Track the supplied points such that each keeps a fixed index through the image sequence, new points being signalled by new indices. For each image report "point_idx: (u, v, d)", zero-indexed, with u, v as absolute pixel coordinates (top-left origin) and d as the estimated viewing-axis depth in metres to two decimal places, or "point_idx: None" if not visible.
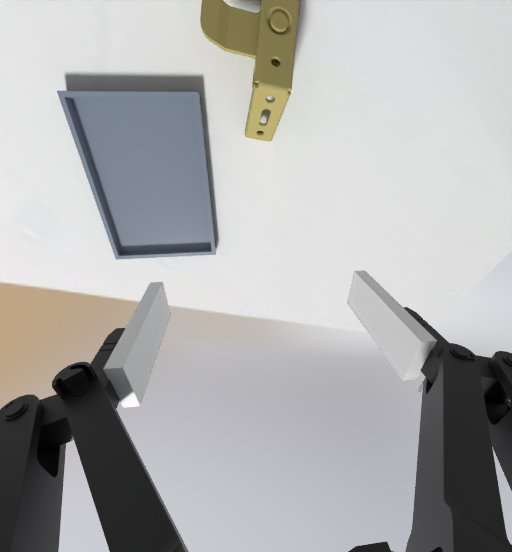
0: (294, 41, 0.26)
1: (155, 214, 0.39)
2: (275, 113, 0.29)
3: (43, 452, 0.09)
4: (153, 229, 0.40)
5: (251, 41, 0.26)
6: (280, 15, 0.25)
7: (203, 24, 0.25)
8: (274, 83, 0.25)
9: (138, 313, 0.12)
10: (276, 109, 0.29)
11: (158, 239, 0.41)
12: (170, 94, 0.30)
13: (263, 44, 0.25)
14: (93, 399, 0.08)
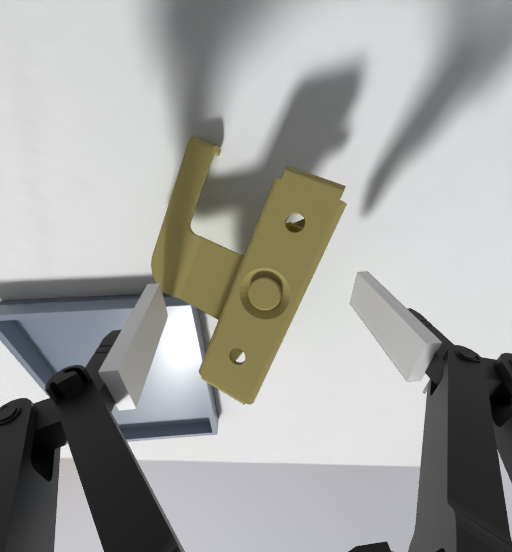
0: (282, 332, 0.14)
1: None
2: None
3: (37, 456, 0.08)
4: (136, 412, 0.31)
5: (220, 298, 0.16)
6: (268, 285, 0.13)
7: (153, 265, 0.16)
8: (224, 387, 0.15)
9: (135, 314, 0.12)
10: None
11: (144, 418, 0.32)
12: None
13: (224, 324, 0.15)
14: (88, 402, 0.08)
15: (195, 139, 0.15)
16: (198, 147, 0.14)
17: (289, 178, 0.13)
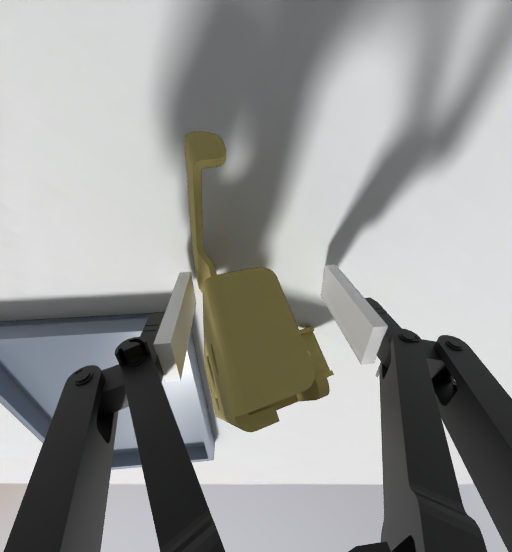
0: None
1: (126, 426, 0.27)
2: None
3: (103, 416, 0.10)
4: (125, 437, 0.28)
5: None
6: (210, 376, 0.11)
7: (194, 259, 0.17)
8: None
9: (175, 298, 0.13)
10: None
11: (133, 444, 0.29)
12: (134, 334, 0.18)
13: (205, 357, 0.15)
14: (145, 371, 0.09)
15: (187, 140, 0.09)
16: (188, 156, 0.09)
17: (206, 302, 0.06)
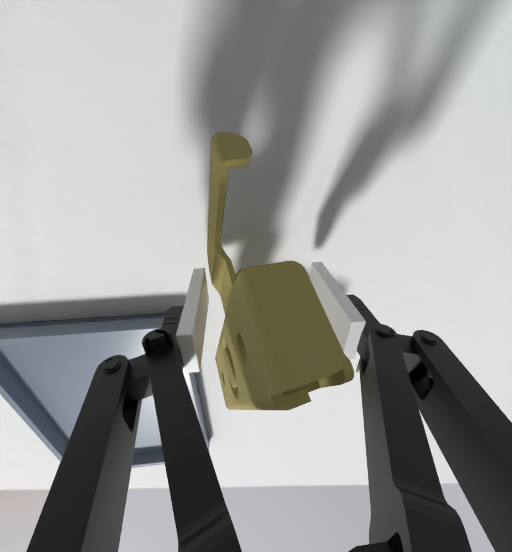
0: (236, 407, 0.13)
1: None
2: None
3: (129, 403, 0.10)
4: None
5: None
6: (229, 366, 0.11)
7: None
8: None
9: (192, 293, 0.14)
10: None
11: None
12: (135, 332, 0.19)
13: (219, 350, 0.15)
14: (169, 362, 0.10)
15: (215, 140, 0.10)
16: (215, 156, 0.10)
17: (239, 292, 0.07)
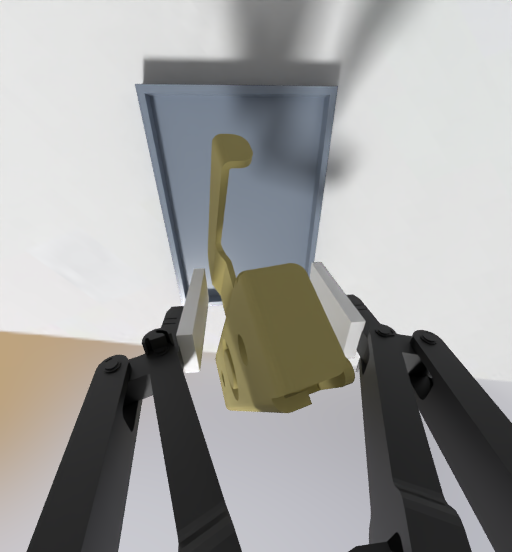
0: (236, 408, 0.13)
1: (239, 251, 0.29)
2: None
3: (130, 403, 0.10)
4: None
5: None
6: (229, 368, 0.11)
7: (208, 256, 0.17)
8: None
9: (192, 293, 0.14)
10: None
11: None
12: (297, 90, 0.20)
13: (219, 351, 0.15)
14: (169, 362, 0.10)
15: (216, 142, 0.10)
16: (215, 157, 0.10)
17: (240, 294, 0.07)
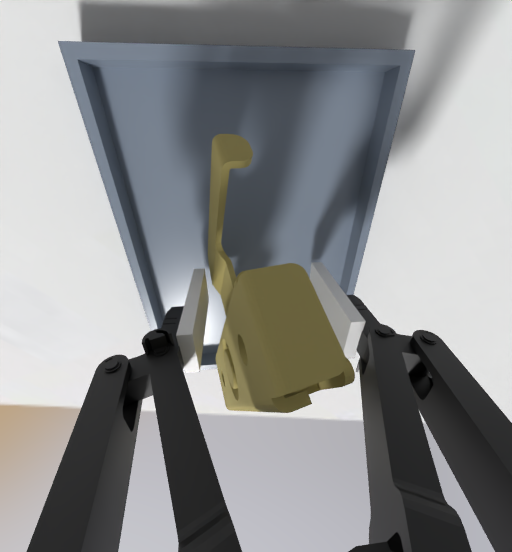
0: (236, 408, 0.13)
1: None
2: None
3: (130, 404, 0.10)
4: None
5: None
6: (229, 368, 0.11)
7: (208, 256, 0.17)
8: None
9: (192, 293, 0.14)
10: None
11: None
12: (347, 56, 0.12)
13: (219, 351, 0.15)
14: (169, 362, 0.10)
15: (216, 142, 0.10)
16: (216, 157, 0.10)
17: (240, 294, 0.07)
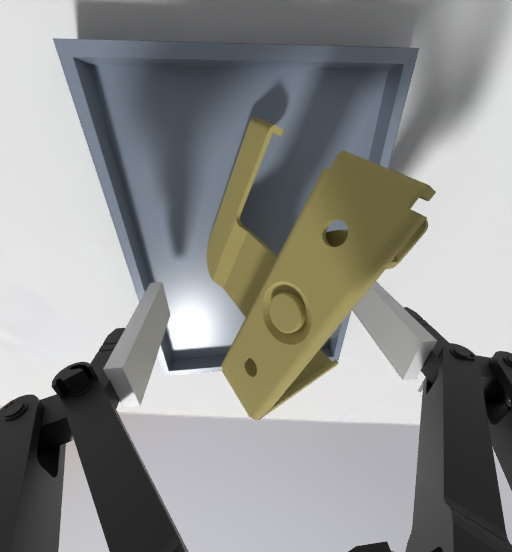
0: (295, 364, 0.11)
1: None
2: None
3: (43, 452, 0.09)
4: (234, 323, 0.21)
5: (252, 299, 0.14)
6: (289, 305, 0.11)
7: (208, 250, 0.17)
8: (236, 390, 0.14)
9: (139, 313, 0.12)
10: None
11: None
12: (349, 54, 0.11)
13: (245, 330, 0.13)
14: (93, 399, 0.08)
15: (255, 119, 0.13)
16: (256, 129, 0.13)
17: (339, 169, 0.09)
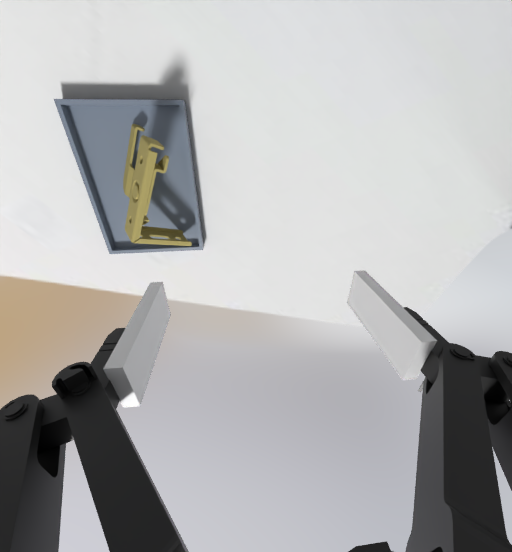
0: (137, 209, 0.32)
1: None
2: None
3: (43, 452, 0.09)
4: None
5: None
6: (135, 188, 0.32)
7: (123, 181, 0.38)
8: (127, 233, 0.36)
9: (139, 313, 0.12)
10: None
11: None
12: (157, 102, 0.33)
13: (129, 205, 0.35)
14: (93, 399, 0.08)
15: (133, 124, 0.34)
16: (133, 128, 0.34)
17: (141, 140, 0.30)
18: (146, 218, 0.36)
